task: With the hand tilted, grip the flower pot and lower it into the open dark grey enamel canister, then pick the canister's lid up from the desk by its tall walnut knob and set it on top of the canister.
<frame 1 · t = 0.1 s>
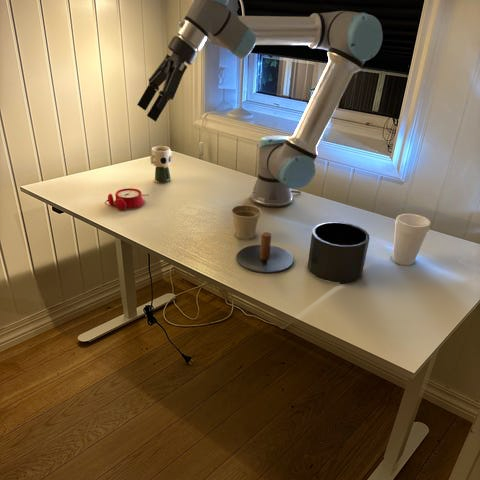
hand: (146, 113, 137), 36 cm above the table, tool tilted 35°, fingers open, 13 cm apart
canister: (334, 270, 140), on the table
flower pot: (245, 236, 156), on the table
character mug: (162, 181, 195), on the table
lid: (264, 259, 143), point 1 cm above the table
alarm clock: (125, 205, 174), on the table
foam cup: (402, 260, 147), on the table
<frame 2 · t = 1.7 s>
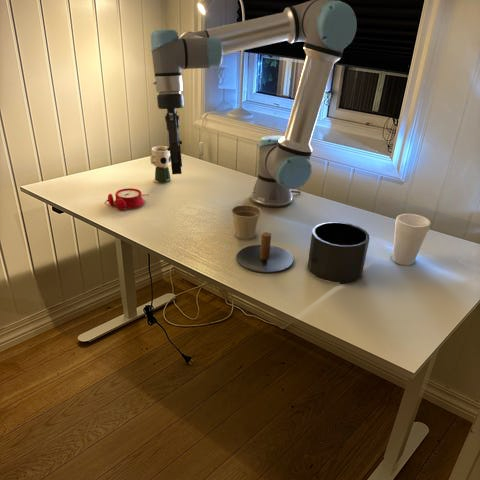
hand: (177, 170, 147), 20 cm above the table, tool pointing down, fingers open, 13 cm apart
nothing on the table moved.
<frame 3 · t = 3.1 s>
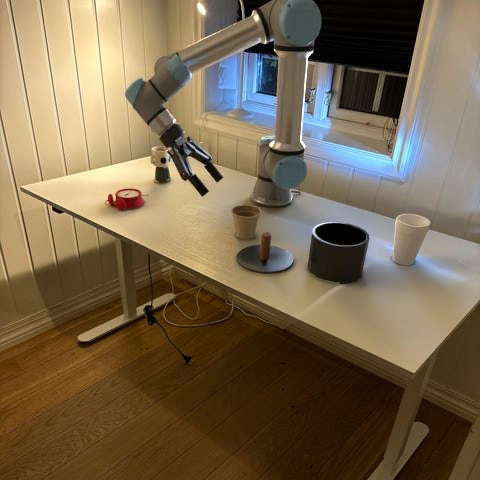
hand: (213, 187, 150), 15 cm above the table, tool tilted 45°, fingers open, 13 cm apart
nothing on the table moved.
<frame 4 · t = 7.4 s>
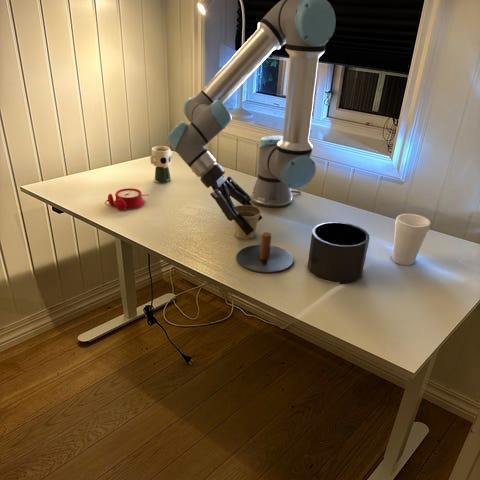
hand: (255, 226, 153), 4 cm above the table, tool tilted 45°, fingers closed on flower pot, 9 cm apart
flower pot: (245, 236, 156), on the table, touching gripper
everything else where it was.
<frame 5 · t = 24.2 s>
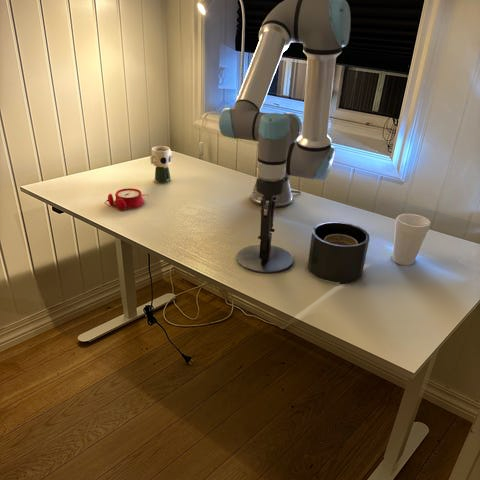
hand: (264, 255, 142), 2 cm above the table, tool pointing down, fingers closed on lid, 3 cm apart
flower pot: (336, 269, 140), resting on canister
lid: (264, 259, 143), point 1 cm above the table, touching gripper
everything else where it was.
when the fingers open (13 cm above the table, at t = 29.9 s): lid stays where it is, resting on canister.
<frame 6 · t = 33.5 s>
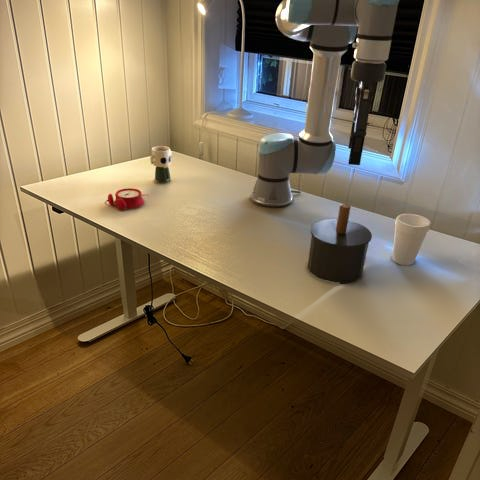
hand: (353, 156, 121), 33 cm above the table, tool pointing down, fingers open, 13 cm apart
lid: (340, 233, 133), point 11 cm above the table, touching canister
everything else where it was.
at the end: flower pot inside the target area in the canister (0.5 cm from its centre), point 0.3 cm above the canister's base; lid 0.0 cm off-centre on the canister, point 11.5 cm above the canister's base; lid tilted 0° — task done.
